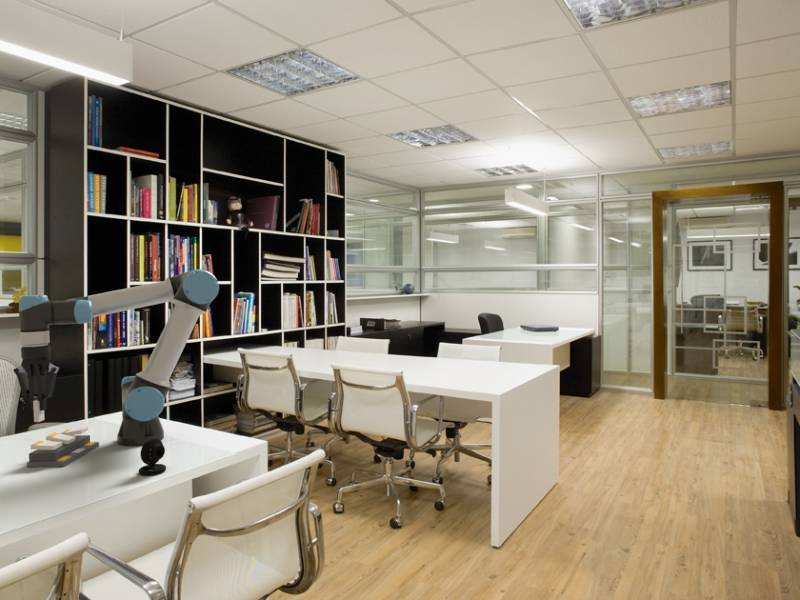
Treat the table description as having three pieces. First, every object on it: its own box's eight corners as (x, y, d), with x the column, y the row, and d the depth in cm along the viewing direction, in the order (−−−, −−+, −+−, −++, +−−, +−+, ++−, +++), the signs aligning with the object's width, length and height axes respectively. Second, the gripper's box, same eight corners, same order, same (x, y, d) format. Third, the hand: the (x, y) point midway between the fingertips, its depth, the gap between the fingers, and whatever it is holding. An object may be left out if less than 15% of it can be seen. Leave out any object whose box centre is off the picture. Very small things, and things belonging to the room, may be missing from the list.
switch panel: (99, 446, 190) (98, 434, 190) (63, 466, 169) (63, 453, 169) (66, 446, 190) (66, 435, 190) (27, 467, 169) (26, 454, 169)
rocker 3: (88, 430, 190) (87, 426, 189) (81, 433, 185) (80, 429, 185) (67, 433, 189) (67, 429, 189) (60, 437, 185) (59, 433, 185)
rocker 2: (75, 440, 182) (76, 436, 182) (67, 444, 177) (68, 440, 177) (53, 436, 182) (54, 432, 182) (45, 440, 177) (46, 435, 177)
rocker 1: (62, 445, 174) (62, 441, 174) (53, 449, 170) (53, 445, 170) (39, 444, 174) (39, 440, 174) (30, 449, 170) (30, 444, 170)
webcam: (152, 477, 160) (151, 443, 160) (132, 474, 163) (131, 440, 162) (172, 469, 167) (171, 436, 167) (152, 466, 170) (152, 433, 169)
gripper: (64, 343, 175) (67, 417, 176) (21, 344, 174) (25, 418, 175) (49, 346, 167) (53, 423, 168) (5, 347, 167) (9, 424, 168)
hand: (39, 420), depth 172 cm, fingers closed
